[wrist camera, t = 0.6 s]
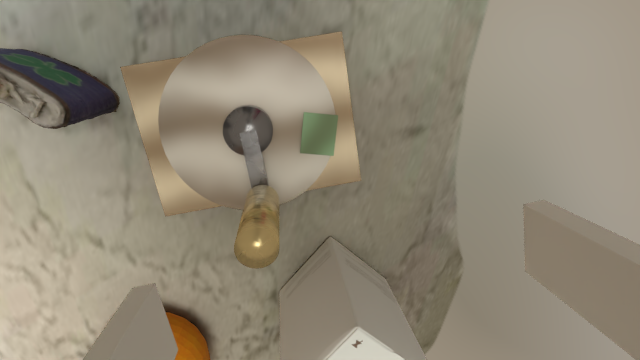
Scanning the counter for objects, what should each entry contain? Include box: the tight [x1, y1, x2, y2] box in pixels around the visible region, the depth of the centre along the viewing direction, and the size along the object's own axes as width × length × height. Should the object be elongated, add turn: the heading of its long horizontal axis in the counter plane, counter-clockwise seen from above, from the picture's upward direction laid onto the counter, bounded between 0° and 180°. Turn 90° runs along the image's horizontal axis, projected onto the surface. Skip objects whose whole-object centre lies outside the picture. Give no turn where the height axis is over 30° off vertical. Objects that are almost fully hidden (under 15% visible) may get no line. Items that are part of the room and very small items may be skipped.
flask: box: [0, 49, 119, 129], centre depth 28 cm, size 9×3×11 cm, turn 62°
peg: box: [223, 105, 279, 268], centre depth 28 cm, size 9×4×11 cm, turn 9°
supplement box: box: [279, 237, 427, 360], centre depth 35 cm, size 9×9×15 cm
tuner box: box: [120, 32, 361, 216], centre depth 34 cm, size 15×18×4 cm
